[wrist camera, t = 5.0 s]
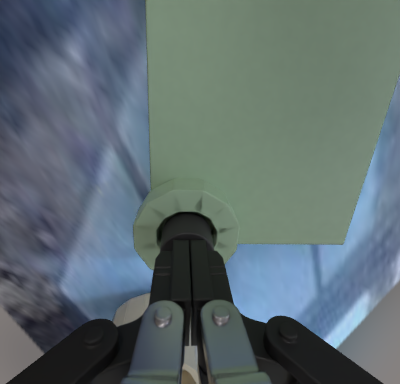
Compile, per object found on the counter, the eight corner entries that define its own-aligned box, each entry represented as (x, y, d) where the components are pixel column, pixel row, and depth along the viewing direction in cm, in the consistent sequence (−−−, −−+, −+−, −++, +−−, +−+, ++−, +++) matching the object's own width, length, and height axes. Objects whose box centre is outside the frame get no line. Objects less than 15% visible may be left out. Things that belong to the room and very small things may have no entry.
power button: (162, 252, 14) (159, 278, 12) (162, 210, 13) (158, 232, 11) (208, 252, 15) (212, 277, 13) (212, 211, 13) (216, 233, 12)
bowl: (117, 348, 21) (99, 423, 16) (110, 288, 18) (86, 357, 14) (196, 346, 21) (199, 419, 17) (200, 287, 19) (205, 354, 14)
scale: (143, 247, 17) (136, 279, 14) (130, -50, 11) (112, -93, 8) (327, 248, 18) (353, 278, 15) (409, -24, 12) (477, -54, 9)
